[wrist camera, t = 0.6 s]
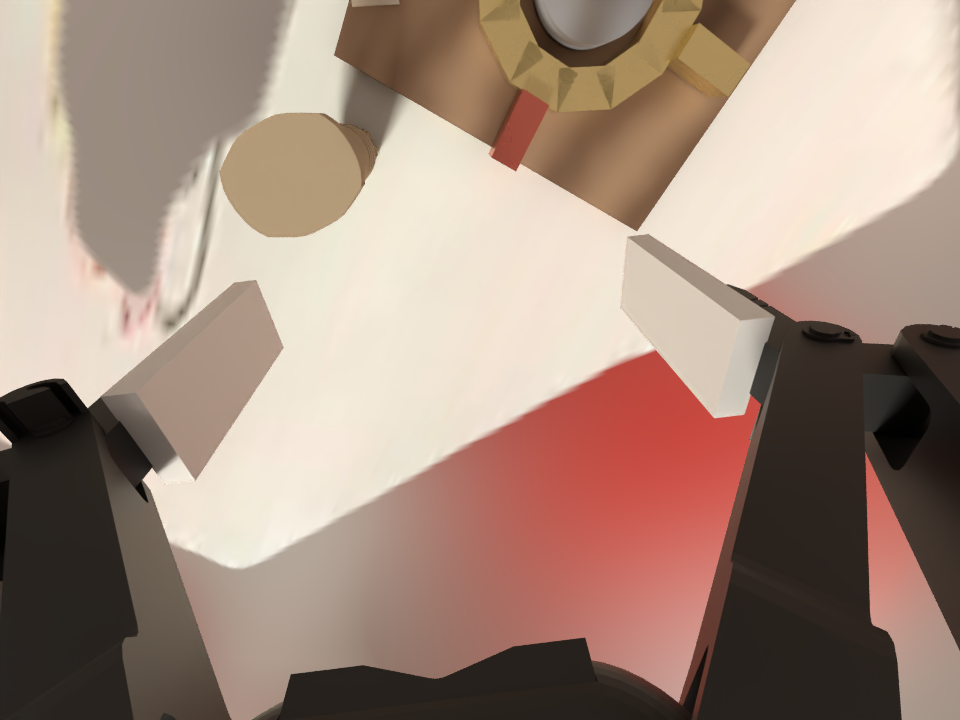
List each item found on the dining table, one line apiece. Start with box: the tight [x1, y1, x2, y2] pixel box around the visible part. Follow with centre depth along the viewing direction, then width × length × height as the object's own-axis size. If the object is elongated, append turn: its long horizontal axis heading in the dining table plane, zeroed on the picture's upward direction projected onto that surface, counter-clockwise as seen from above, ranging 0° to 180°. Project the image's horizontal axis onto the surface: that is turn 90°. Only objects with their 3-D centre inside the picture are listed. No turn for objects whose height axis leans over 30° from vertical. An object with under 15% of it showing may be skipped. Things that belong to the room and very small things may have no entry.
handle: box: [220, 113, 378, 237], centre depth 25 cm, size 5×6×15 cm
